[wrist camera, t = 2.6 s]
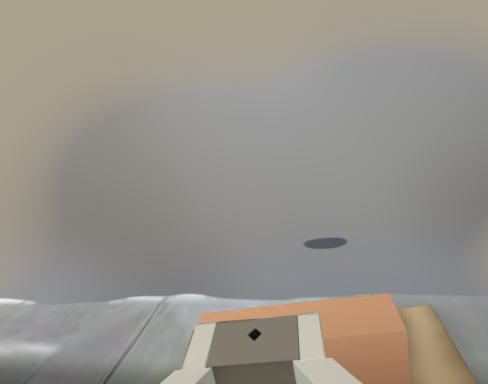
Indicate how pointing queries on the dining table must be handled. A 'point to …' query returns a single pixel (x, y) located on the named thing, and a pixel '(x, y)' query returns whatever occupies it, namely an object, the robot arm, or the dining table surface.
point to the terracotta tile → (349, 334)
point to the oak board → (429, 349)
